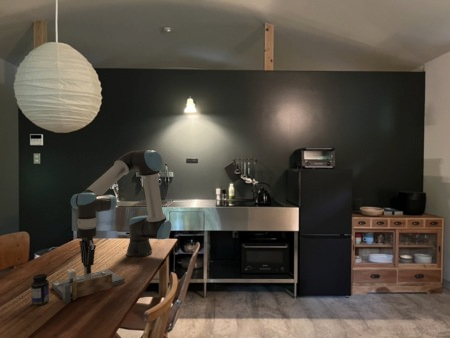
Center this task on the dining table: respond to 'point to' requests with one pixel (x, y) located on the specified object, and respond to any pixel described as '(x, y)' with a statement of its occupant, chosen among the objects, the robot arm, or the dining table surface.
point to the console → (59, 285)
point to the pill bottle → (40, 290)
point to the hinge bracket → (66, 293)
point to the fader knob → (71, 274)
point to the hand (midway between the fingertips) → (87, 280)
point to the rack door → (91, 286)
